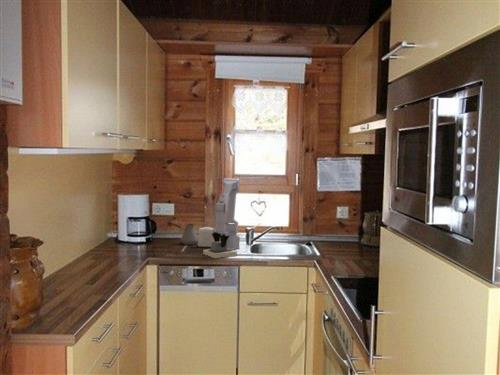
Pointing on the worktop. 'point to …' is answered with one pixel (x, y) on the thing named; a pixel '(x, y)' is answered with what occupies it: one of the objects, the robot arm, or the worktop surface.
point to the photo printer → (205, 237)
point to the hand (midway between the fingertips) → (220, 246)
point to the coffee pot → (188, 234)
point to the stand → (220, 253)
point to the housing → (218, 246)
